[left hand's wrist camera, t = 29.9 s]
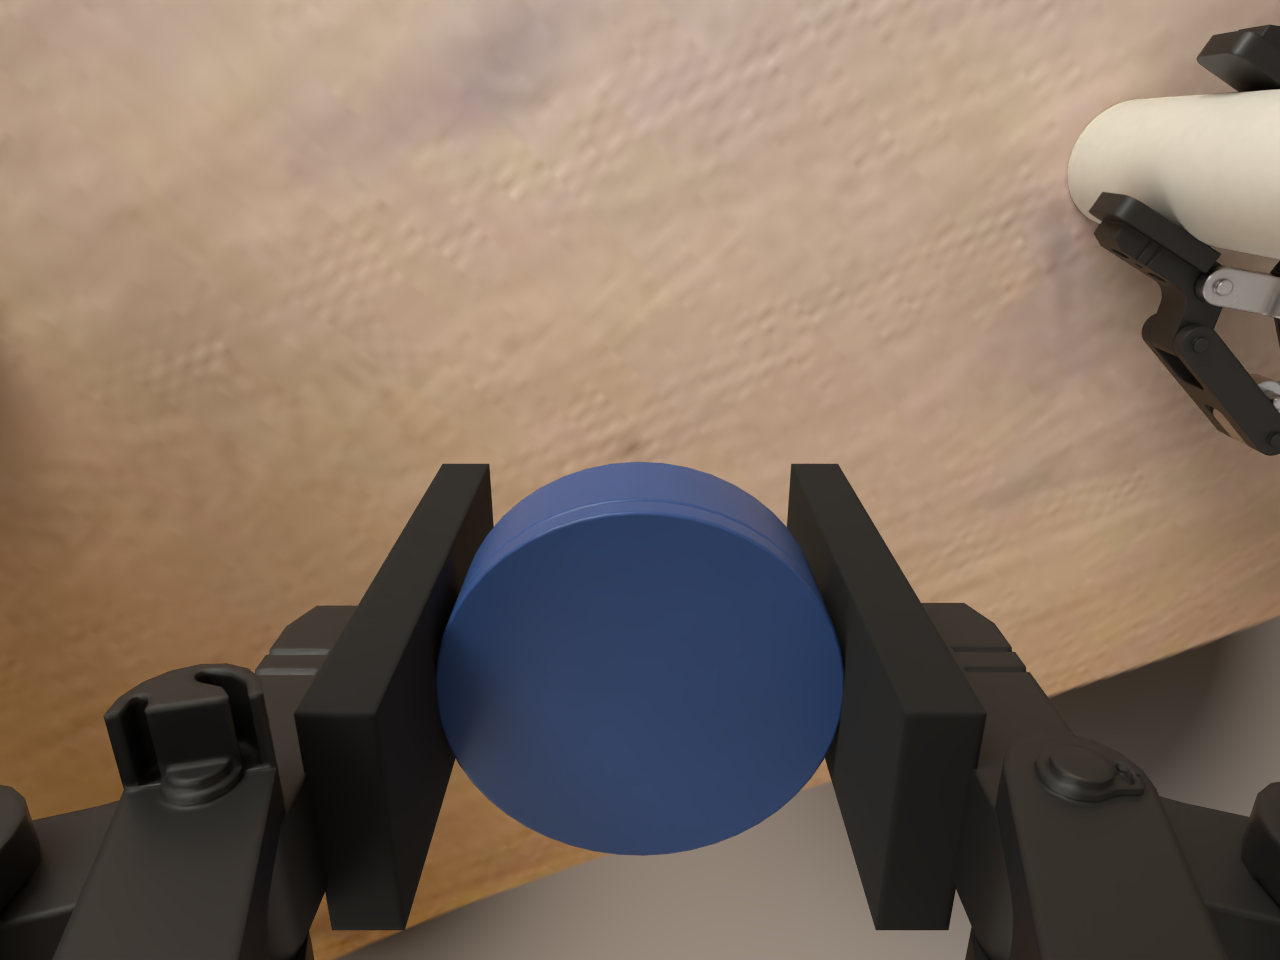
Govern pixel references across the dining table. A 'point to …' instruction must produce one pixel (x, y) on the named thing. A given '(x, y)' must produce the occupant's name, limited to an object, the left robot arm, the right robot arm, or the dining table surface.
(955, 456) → the dining table surface
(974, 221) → the dining table surface
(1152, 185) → the jar
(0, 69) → the dining table surface
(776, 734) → the lid
